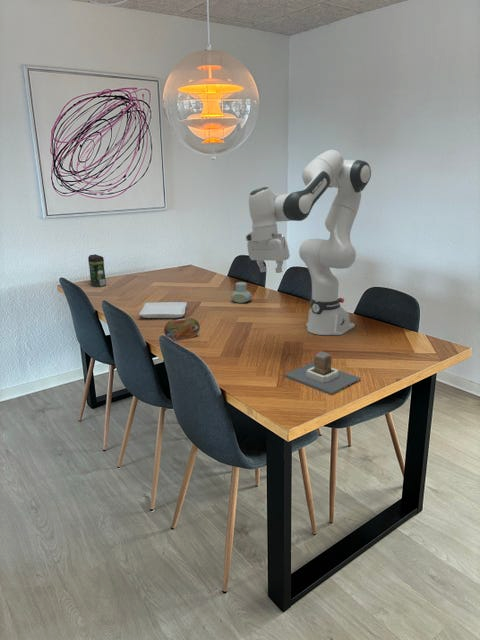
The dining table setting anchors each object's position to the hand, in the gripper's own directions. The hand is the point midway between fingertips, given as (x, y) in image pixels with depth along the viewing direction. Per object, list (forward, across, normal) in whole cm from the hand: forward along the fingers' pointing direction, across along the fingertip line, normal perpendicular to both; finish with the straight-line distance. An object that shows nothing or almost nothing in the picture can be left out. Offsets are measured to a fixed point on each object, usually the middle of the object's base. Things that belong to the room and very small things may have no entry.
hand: (271, 272), depth 182 cm
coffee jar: (+9, +151, +18) cm, 152 cm away
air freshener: (+25, +71, -30) cm, 81 cm away
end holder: (+35, -24, +3) cm, 43 cm away
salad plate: (+21, +75, +12) cm, 79 cm away
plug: (+34, -24, +3) cm, 42 cm away
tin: (+25, +39, +22) cm, 51 cm away
